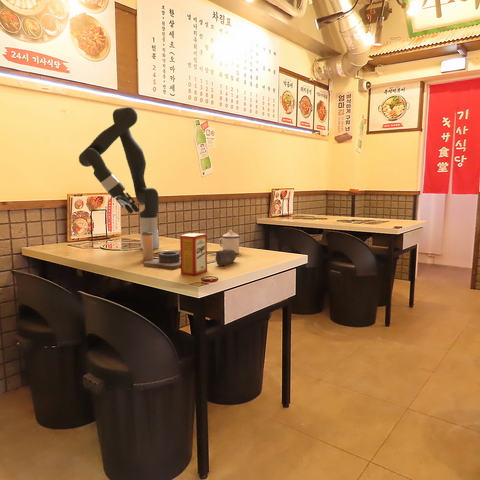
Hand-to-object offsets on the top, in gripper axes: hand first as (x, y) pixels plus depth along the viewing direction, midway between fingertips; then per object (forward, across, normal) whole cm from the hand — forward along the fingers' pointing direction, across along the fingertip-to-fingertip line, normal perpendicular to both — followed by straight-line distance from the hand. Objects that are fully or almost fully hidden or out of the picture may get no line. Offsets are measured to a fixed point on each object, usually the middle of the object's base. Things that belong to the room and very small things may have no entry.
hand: (134, 212), depth 196 cm
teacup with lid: (+45, -14, -20) cm, 52 cm away
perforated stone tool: (+38, -39, -5) cm, 55 cm away
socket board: (+24, -25, +11) cm, 36 cm away
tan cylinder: (+19, -9, +13) cm, 25 cm away
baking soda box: (+27, -46, +12) cm, 54 cm away
